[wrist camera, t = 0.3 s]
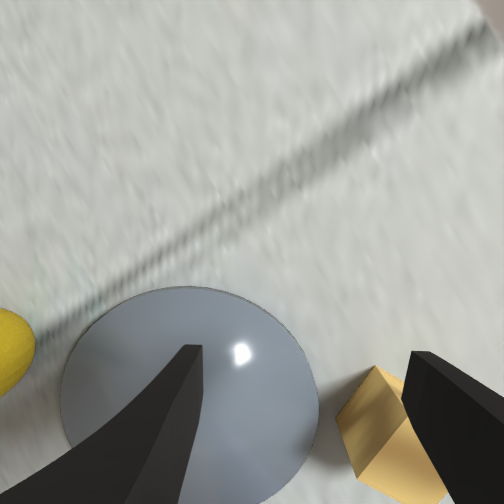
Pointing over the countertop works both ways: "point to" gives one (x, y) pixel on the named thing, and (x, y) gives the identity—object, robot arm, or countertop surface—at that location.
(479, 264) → the countertop surface
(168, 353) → the plate
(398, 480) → the cube
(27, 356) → the lemon
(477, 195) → the countertop surface
